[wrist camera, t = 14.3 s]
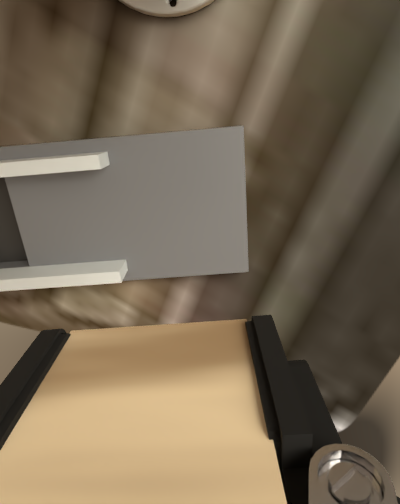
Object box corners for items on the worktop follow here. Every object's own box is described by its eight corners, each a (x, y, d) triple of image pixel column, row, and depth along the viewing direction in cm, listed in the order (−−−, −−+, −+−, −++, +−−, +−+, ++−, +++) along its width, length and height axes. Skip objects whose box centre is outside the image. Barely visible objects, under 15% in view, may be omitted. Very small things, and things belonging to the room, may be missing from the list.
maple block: (71, 330, 10) (-50, 524, 5) (246, 318, 10) (288, 507, 5) (103, 455, 12) (36, 682, 7) (251, 448, 11) (285, 676, 7)
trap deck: (-62, 151, 28) (-107, 157, 24) (240, 125, 28) (247, 126, 23) (-17, 281, 33) (-49, 305, 29) (245, 263, 32) (252, 284, 28)
